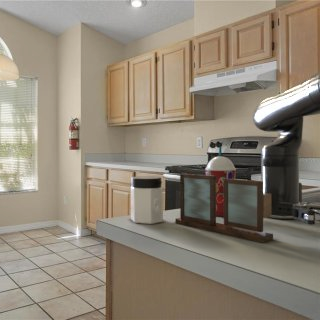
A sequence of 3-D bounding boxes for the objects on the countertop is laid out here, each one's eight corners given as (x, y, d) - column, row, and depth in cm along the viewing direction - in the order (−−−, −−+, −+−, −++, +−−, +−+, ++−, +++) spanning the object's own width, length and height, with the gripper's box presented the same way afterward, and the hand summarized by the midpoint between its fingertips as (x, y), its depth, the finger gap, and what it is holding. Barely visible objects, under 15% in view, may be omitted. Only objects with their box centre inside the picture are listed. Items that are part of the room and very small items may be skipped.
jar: (145, 225, 86) (145, 179, 85) (124, 220, 92) (124, 177, 92) (169, 221, 91) (168, 177, 90) (147, 216, 97) (147, 175, 97)
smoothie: (242, 216, 95) (242, 146, 94) (217, 218, 93) (217, 147, 92) (223, 211, 103) (223, 146, 102) (199, 212, 101) (199, 147, 100)
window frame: (273, 239, 71) (273, 178, 71) (262, 242, 69) (262, 179, 68) (186, 220, 90) (186, 172, 90) (175, 223, 88) (174, 173, 88)
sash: (271, 229, 73) (271, 180, 73) (261, 232, 71) (261, 181, 71) (233, 222, 81) (233, 177, 81) (223, 224, 79) (223, 178, 78)
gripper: (395, 195, 60) (291, 187, 74) (368, 203, 53) (259, 192, 67) (394, 236, 60) (291, 220, 75) (367, 250, 53) (259, 228, 67)
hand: (276, 207), depth 71 cm, fingers closed
